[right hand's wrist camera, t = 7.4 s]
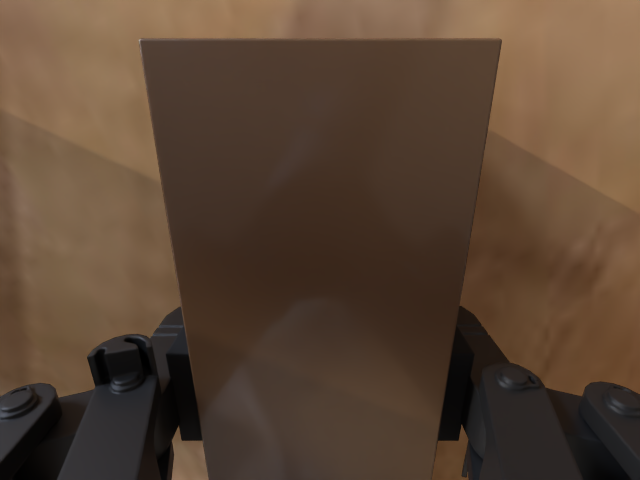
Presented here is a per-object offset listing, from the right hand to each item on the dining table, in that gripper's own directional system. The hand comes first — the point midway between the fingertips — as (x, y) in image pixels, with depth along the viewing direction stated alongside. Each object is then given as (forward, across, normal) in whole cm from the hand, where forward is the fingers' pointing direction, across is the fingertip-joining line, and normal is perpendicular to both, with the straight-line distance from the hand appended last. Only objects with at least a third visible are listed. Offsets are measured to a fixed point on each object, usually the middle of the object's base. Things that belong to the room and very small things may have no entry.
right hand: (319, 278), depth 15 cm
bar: (+1, 0, -28) cm, 28 cm away
